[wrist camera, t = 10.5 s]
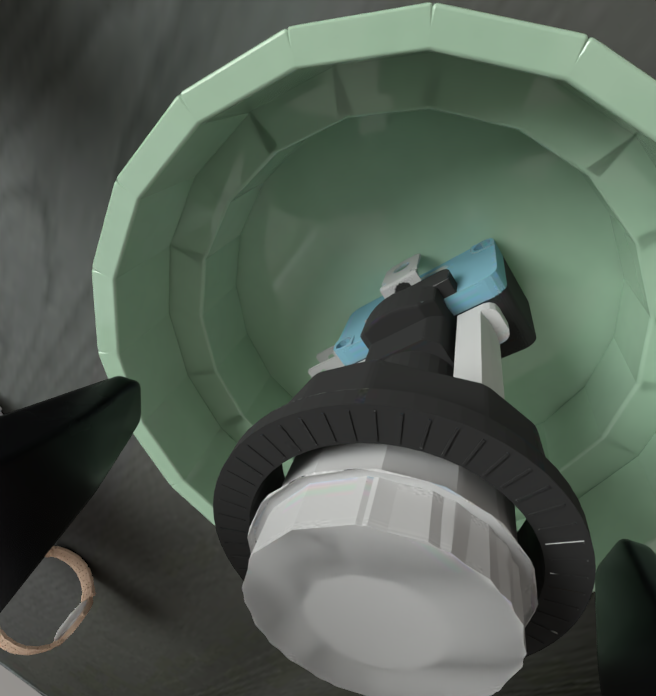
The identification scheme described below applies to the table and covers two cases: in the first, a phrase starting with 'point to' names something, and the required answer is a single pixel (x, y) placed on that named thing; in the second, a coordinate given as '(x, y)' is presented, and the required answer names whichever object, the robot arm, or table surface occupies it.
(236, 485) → the push button
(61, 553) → the brown ring
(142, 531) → the table surface
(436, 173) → the bowl
